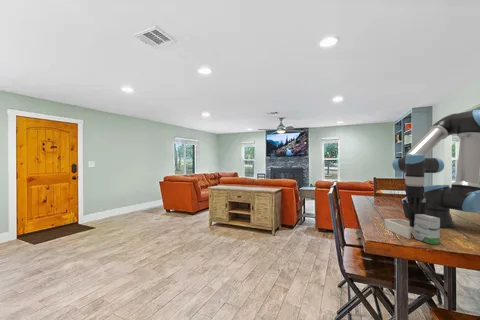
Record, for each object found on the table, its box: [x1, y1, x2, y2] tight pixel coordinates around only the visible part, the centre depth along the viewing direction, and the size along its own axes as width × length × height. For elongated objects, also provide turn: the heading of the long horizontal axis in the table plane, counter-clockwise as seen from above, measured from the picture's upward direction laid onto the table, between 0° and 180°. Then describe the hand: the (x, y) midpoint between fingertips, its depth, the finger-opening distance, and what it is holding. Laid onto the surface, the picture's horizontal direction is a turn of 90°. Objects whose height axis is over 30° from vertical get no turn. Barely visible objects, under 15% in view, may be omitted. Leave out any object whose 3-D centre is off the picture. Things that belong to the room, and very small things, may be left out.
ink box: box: [413, 214, 441, 245], centre depth 107 cm, size 9×5×12 cm, turn 9°
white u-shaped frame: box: [383, 218, 412, 240], centre depth 120 cm, size 10×18×5 cm, turn 3°
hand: (414, 233), depth 113 cm, fingers closed
